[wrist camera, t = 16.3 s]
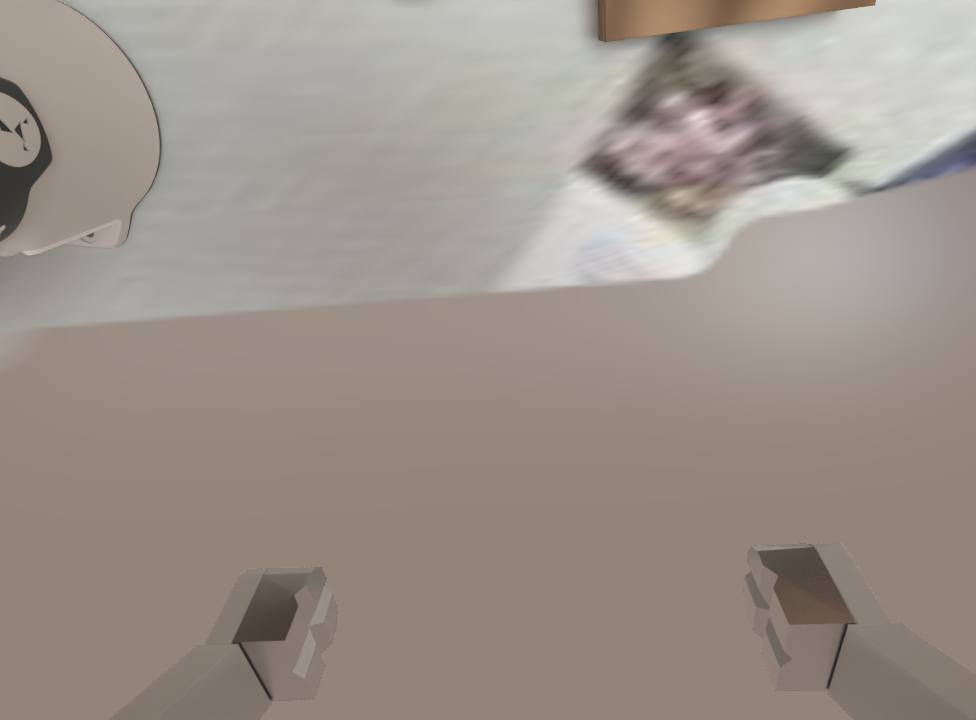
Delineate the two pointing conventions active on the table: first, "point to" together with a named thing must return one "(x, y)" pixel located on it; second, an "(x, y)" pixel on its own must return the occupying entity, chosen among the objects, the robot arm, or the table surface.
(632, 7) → the shelf stand
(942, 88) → the table surface
